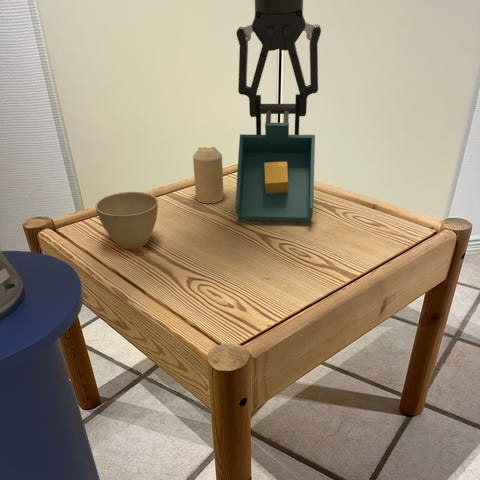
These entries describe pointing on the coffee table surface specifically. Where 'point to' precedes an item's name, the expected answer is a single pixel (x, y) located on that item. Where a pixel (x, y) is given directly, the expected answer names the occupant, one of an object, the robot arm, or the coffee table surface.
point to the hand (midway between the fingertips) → (277, 134)
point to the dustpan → (275, 150)
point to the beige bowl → (128, 217)
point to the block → (276, 177)
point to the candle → (208, 175)
